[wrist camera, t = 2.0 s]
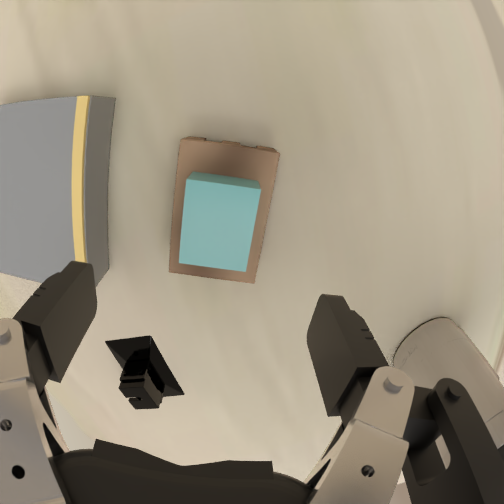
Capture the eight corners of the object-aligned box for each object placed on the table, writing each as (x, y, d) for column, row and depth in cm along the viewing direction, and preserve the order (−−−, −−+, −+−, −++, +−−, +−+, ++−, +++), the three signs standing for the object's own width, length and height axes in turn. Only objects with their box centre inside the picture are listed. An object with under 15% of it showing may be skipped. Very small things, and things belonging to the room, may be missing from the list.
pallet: (273, 148, 20) (279, 153, 17) (252, 261, 24) (254, 283, 21) (189, 136, 20) (180, 139, 17) (177, 250, 23) (168, 272, 20)
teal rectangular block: (258, 180, 18) (261, 189, 16) (244, 254, 20) (245, 271, 18) (192, 171, 17) (186, 179, 15) (184, 246, 20) (178, 262, 17)
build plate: (95, 327, 27) (78, 357, 23) (155, 317, 27) (144, 350, 23) (144, 402, 32) (137, 431, 28) (198, 397, 32) (195, 429, 28)
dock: (115, 98, 18) (89, 95, 14) (109, 268, 24) (89, 295, 20) (4, 106, 17) (-27, 110, 13) (9, 250, 22) (-15, 270, 18)
